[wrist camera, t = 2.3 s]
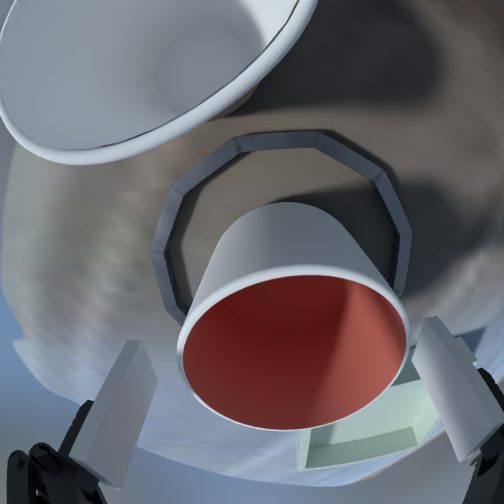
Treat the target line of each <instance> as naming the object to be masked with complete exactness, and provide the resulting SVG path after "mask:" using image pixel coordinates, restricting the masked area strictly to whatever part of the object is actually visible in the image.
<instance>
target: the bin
mask: <svg viewBox="0 0 504 504" xmlns="http://www.w3.org/2000/svg"><path fill="white" fill-rule="evenodd" d="M455 340H456V341H457V342H458V344H459V345H460V346H461V348H462V349H463V350H464V352H465V353H466V355H467V356H468V357H469V359H470V360H471V362H472V363H473V365H474V366H475V365H476V363H477V361H478V360H477V359H476V357H475V356H474V355H473V353H472V352H471V350H470V349H469V347H468V346H467V345H466V343H465V342H464V341H463V339H462V338H461V337H460V336H459V337H456V338H455ZM414 351H415V348H412V349H410V350H409V354H408V357H407V360H406V362H405V365H404V367H403V369H402V371H401V372H400V374H399V376H398V377H397V379H396V380H395V381H394V383H393V384H392V385H391V386H390V387H389V388H388V389H387V391H386V392H385V393H384V394H383V395H381V396H380V397H379V398H378V399H377V400H376V401H374V402H373V403H372V404H370V405H369V406H368V407H366V408H364V409H363V410H361V411H359V412H358V413H356V414H354V415H352V416H350V417H348V418H345V419H343V420H341V421H338V422H335V423H332V424H329V425H326V426H322V427H318V428H313V429H306V430H298V431H297V436H296V462H297V472H299V471H310V470H319V469H327V468H334V467H340V466H346V465H351V464H357V463H362V462H366V461H371V460H375V459H379V458H383V457H387V456H391V455H394V454H398V453H401V452H405V451H408V450H411V449H414V448H417V447H420V446H422V445H423V444H424V442H425V441H426V440H427V439H428V437H429V436H430V435H431V434H432V432H433V431H434V430H435V428H436V427H437V426H438V424H439V423H440V421H441V418H440V416H439V414H438V412H437V410H436V408H435V406H434V403H433V401H432V399H431V397H430V395H429V393H428V391H427V389H426V387H425V385H424V383H423V381H422V379H421V378H420V376H419V374H418V372H417V370H416V368H415V366H414V364H413V362H412V361H411V360H412V357H413V354H414Z"/></svg>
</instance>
